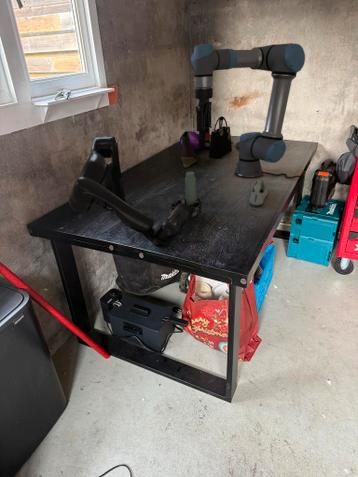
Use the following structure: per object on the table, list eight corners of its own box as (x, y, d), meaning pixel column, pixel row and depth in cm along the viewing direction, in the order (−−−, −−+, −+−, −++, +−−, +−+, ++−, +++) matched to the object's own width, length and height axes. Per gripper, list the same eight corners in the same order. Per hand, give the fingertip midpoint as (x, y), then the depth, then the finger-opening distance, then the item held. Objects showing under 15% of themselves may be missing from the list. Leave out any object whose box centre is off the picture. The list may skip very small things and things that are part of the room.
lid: (211, 140, 144) (211, 134, 143) (199, 141, 144) (199, 135, 142) (209, 137, 148) (208, 132, 147) (197, 138, 148) (197, 133, 147)
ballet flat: (269, 188, 169) (270, 173, 165) (265, 208, 149) (266, 191, 145) (252, 187, 171) (253, 172, 167) (246, 206, 151) (247, 190, 147)
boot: (199, 157, 223) (198, 126, 213) (193, 168, 203) (192, 135, 193) (186, 157, 225) (185, 126, 215) (179, 168, 205) (177, 135, 195)
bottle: (185, 213, 149) (183, 172, 140) (195, 211, 150) (193, 170, 140) (188, 217, 145) (186, 175, 136) (197, 215, 146) (196, 173, 137)
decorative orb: (204, 151, 235) (204, 129, 228) (194, 156, 225) (193, 134, 217) (186, 149, 243) (186, 128, 235) (175, 154, 232) (174, 132, 224)
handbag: (220, 159, 217) (220, 119, 204) (207, 157, 221) (207, 119, 208) (232, 151, 231) (233, 113, 219) (221, 150, 236) (221, 113, 223)
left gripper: (164, 222, 137) (178, 205, 151) (197, 226, 133) (208, 208, 146) (163, 205, 133) (177, 190, 147) (197, 209, 129) (208, 192, 143)
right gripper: (202, 85, 144) (203, 139, 156) (187, 90, 130) (189, 149, 142) (219, 85, 141) (218, 140, 153) (205, 90, 127) (205, 150, 139)
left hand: (193, 199), depth 147 cm, fingers closed on bottle, 4 cm apart
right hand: (204, 144), depth 147 cm, fingers closed on lid, 5 cm apart
